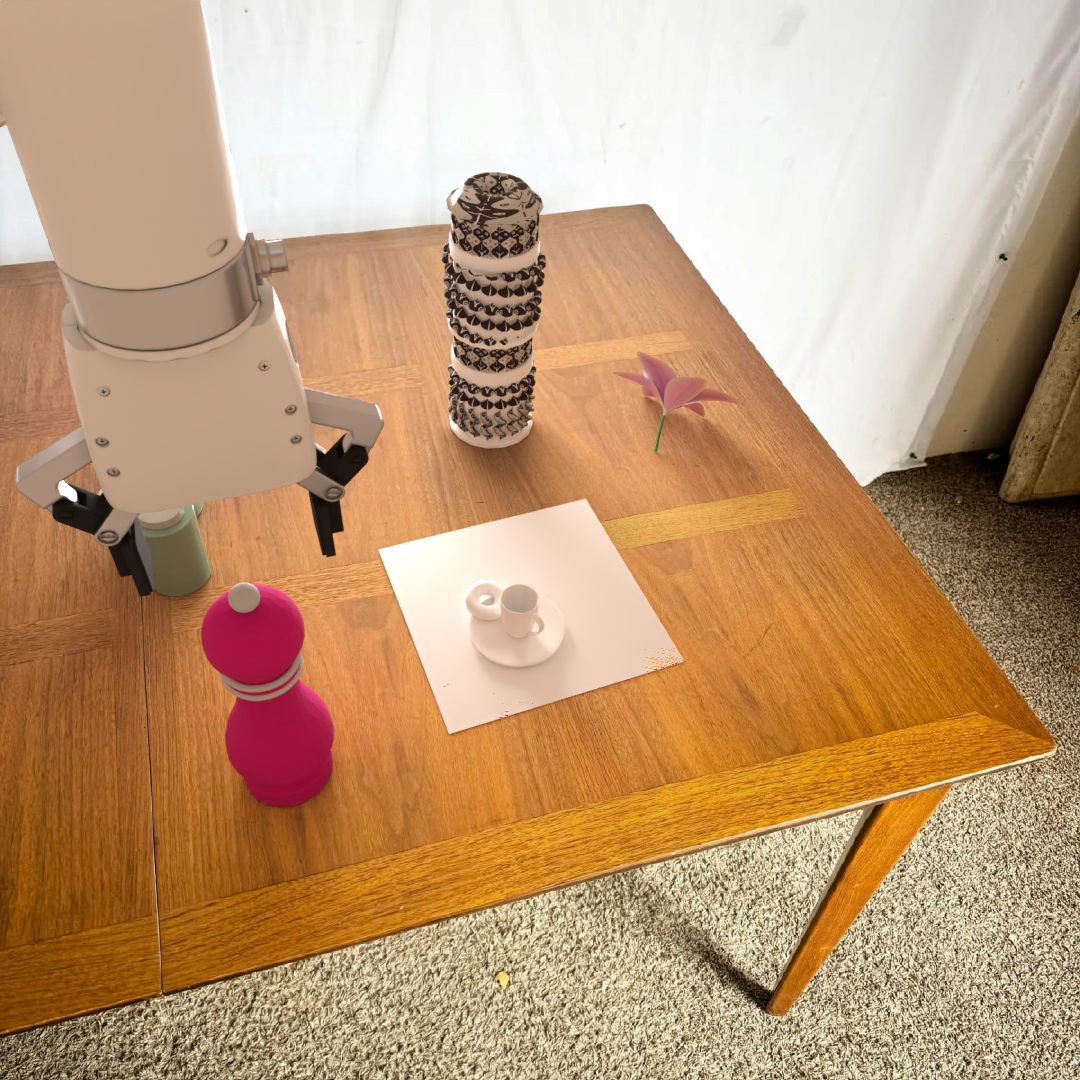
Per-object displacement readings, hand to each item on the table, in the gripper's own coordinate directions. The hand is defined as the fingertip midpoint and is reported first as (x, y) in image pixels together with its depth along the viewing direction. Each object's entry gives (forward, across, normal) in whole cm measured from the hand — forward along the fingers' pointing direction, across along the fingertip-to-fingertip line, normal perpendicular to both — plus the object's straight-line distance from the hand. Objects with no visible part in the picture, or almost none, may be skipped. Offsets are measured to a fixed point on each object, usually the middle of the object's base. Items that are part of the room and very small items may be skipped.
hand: (237, 557), depth 53 cm
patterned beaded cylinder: (+23, -25, -34) cm, 48 cm away
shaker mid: (+22, +6, -22) cm, 32 cm away
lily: (+23, -42, -28) cm, 56 cm away
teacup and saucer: (+23, -21, -10) cm, 33 cm away
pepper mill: (+23, 0, 0) cm, 23 cm away
